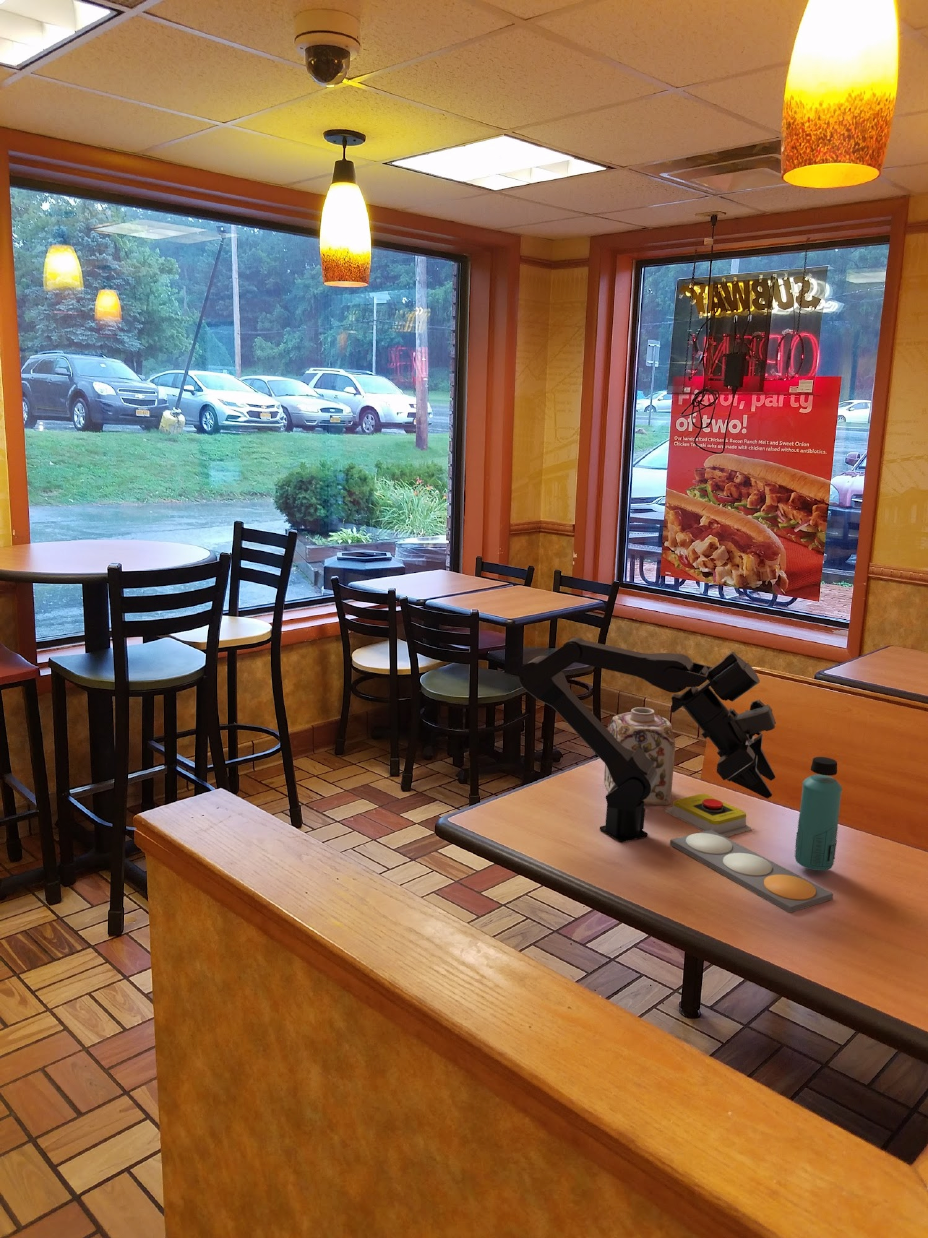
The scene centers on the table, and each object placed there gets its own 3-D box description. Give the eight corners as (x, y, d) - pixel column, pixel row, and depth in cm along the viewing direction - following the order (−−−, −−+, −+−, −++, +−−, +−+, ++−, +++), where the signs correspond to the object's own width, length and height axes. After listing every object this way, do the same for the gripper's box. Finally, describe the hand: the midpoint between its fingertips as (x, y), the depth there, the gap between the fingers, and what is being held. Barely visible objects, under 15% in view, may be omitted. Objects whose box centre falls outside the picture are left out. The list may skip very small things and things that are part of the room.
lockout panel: (789, 913, 146) (790, 905, 145) (669, 844, 168) (670, 838, 168) (832, 899, 151) (833, 891, 150) (710, 834, 173) (711, 828, 173)
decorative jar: (671, 806, 186) (678, 719, 183) (612, 805, 186) (619, 717, 182) (657, 784, 198) (664, 702, 194) (602, 782, 198) (608, 700, 194)
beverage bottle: (828, 883, 156) (843, 769, 152) (787, 872, 160) (800, 760, 156) (836, 868, 162) (850, 758, 158) (796, 858, 165) (809, 750, 161)
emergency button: (721, 819, 171) (663, 791, 183) (719, 841, 172) (661, 812, 184) (756, 810, 176) (697, 783, 188) (753, 831, 177) (695, 804, 189)
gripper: (744, 703, 151) (809, 780, 149) (754, 677, 168) (812, 745, 166) (690, 742, 155) (752, 817, 154) (705, 712, 172) (761, 779, 171)
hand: (771, 787), depth 161 cm, fingers open, 9 cm apart
